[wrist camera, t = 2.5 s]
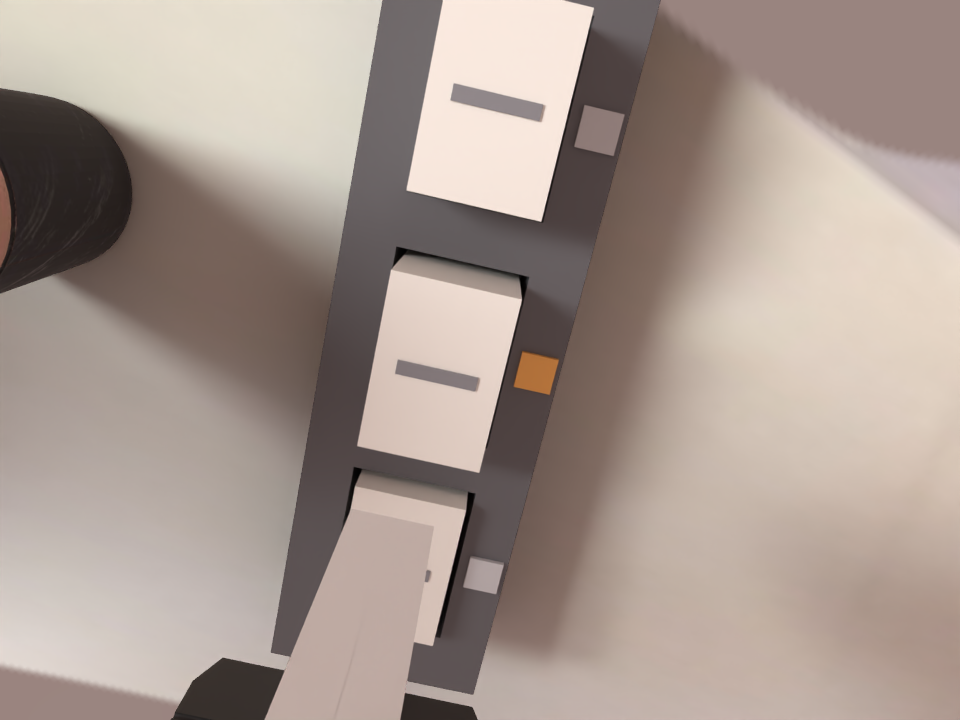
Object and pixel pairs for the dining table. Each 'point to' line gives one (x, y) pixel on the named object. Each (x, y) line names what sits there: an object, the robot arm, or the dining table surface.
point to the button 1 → (425, 508)
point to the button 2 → (440, 360)
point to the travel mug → (56, 188)
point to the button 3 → (498, 102)
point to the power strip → (477, 240)
